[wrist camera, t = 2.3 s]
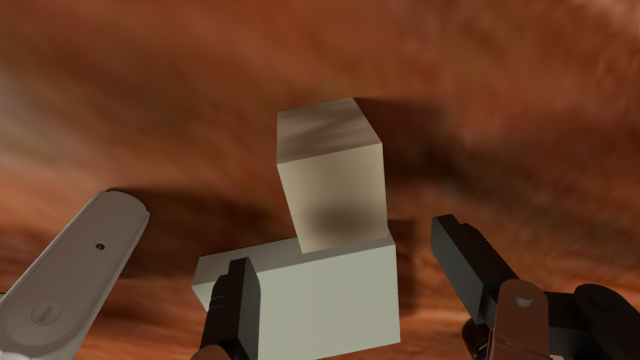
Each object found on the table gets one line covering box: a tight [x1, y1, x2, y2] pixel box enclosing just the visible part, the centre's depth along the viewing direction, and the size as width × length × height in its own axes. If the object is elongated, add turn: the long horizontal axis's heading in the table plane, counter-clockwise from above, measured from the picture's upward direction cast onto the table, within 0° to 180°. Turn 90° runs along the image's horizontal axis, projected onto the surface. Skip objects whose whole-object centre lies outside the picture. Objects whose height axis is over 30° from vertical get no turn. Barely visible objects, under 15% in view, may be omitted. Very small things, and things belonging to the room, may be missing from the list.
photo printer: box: [0, 191, 150, 360], centre depth 19 cm, size 10×4×12 cm, turn 140°
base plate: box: [191, 229, 400, 360], centre depth 29 cm, size 16×14×3 cm
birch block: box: [277, 97, 388, 254], centre depth 19 cm, size 5×6×7 cm
